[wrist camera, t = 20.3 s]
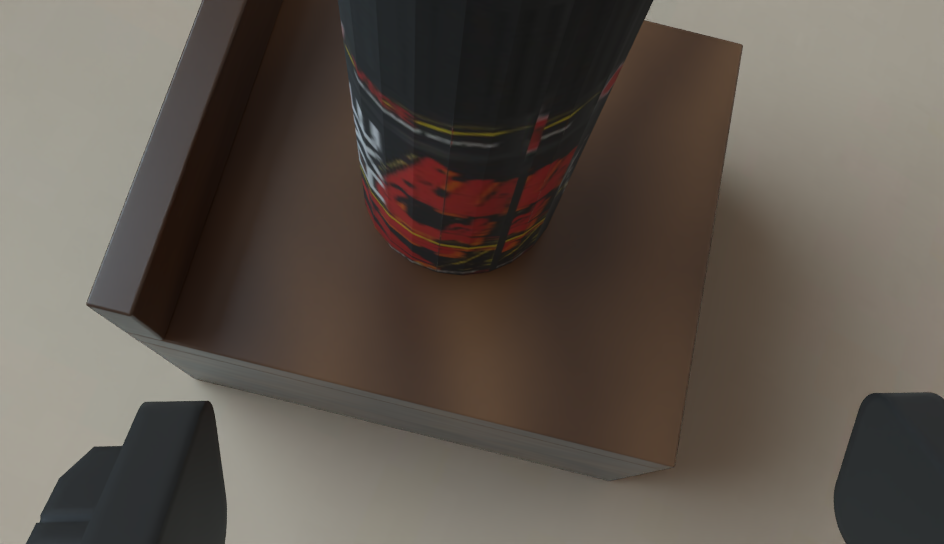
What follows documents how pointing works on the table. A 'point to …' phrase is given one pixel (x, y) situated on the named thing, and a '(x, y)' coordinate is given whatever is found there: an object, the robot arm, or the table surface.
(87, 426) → the table surface
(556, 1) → the deodorant
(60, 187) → the table surface
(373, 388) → the shelf
